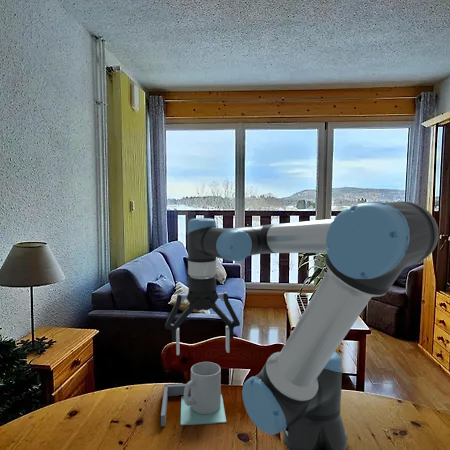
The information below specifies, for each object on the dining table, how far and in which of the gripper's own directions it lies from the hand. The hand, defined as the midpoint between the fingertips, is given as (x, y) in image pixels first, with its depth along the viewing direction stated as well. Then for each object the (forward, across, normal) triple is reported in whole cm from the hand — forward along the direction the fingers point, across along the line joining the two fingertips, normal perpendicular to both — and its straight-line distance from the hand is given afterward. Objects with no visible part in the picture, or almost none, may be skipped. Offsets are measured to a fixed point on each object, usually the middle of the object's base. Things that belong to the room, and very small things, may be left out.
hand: (202, 351), depth 102 cm
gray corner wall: (+17, +4, -1) cm, 17 cm away
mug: (+17, +1, 0) cm, 17 cm away
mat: (+17, 0, 0) cm, 17 cm away
